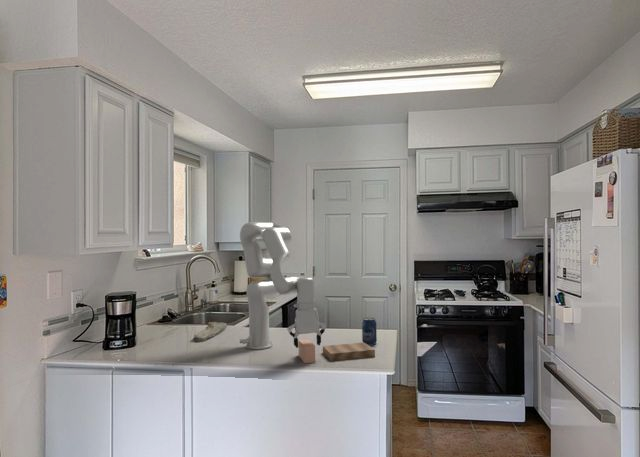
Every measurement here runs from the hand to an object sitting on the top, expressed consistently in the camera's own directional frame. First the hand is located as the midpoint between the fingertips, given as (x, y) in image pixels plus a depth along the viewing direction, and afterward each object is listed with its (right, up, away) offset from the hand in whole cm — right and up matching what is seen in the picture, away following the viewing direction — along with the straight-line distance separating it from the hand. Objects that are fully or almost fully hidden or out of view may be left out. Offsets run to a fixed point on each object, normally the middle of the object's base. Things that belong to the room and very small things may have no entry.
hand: (307, 345), depth 187 cm
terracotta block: (0, -6, 0) cm, 6 cm away
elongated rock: (-54, -8, +50) cm, 74 cm away
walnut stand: (+18, -5, +5) cm, 19 cm away
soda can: (+29, -6, +24) cm, 38 cm away
